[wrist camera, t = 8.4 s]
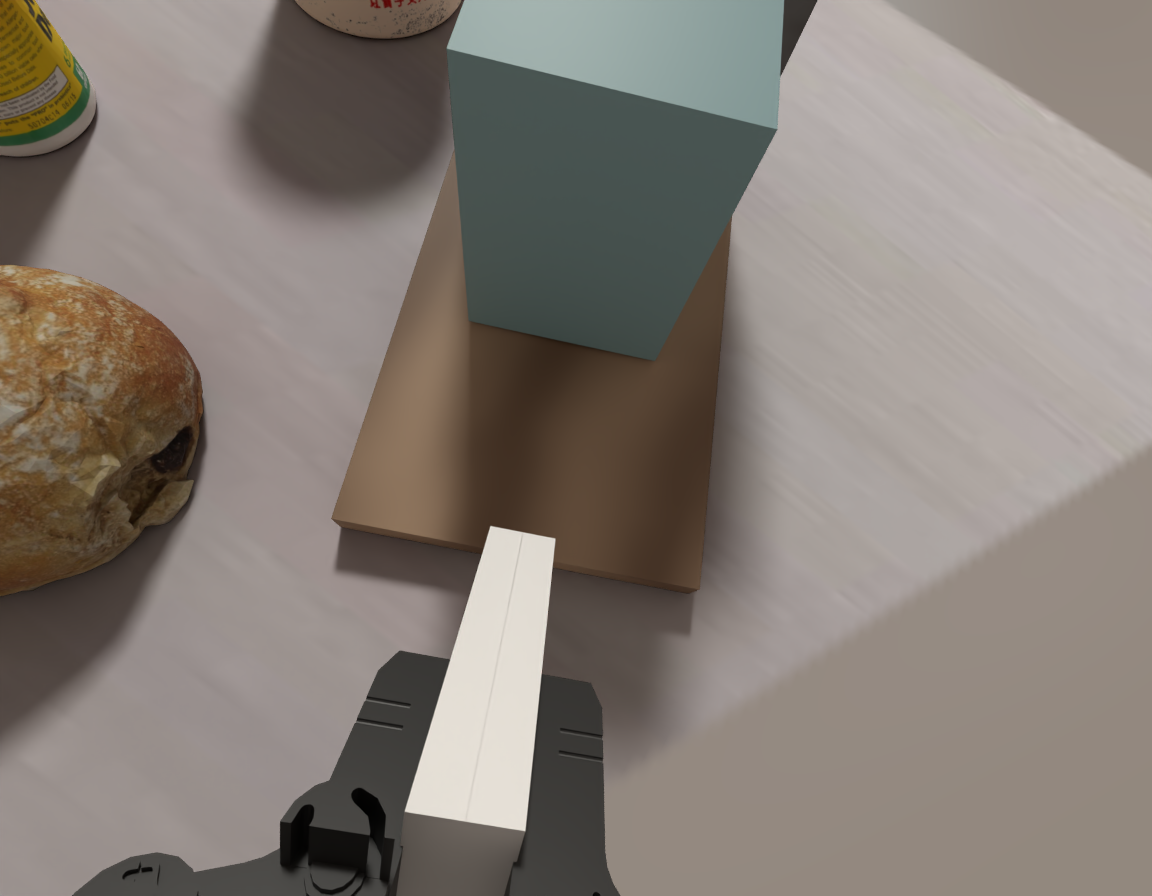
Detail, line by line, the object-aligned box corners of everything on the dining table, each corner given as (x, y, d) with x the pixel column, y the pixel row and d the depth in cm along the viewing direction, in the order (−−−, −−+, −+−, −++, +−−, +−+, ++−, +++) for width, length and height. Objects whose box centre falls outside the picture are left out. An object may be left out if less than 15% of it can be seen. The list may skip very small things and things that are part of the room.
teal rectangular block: (468, 320, 21) (446, 48, 12) (503, 196, 23) (508, -118, 14) (654, 361, 21) (777, 129, 12) (672, 234, 24) (786, -44, 14)
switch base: (341, 527, 19) (-19, 215, 6) (487, 77, 27) (477, -489, 14) (688, 593, 20) (1081, 453, 7) (730, 136, 28) (946, -347, 15)
